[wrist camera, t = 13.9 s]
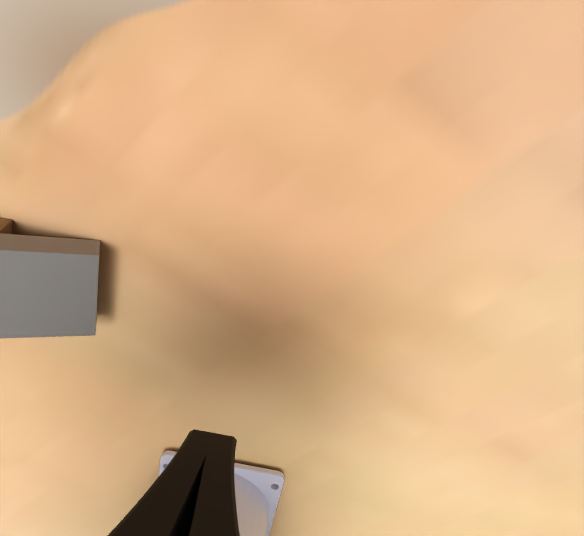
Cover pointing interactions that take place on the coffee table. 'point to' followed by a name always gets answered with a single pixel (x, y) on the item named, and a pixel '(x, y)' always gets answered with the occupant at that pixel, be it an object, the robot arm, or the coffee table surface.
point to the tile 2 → (6, 226)
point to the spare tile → (48, 286)
